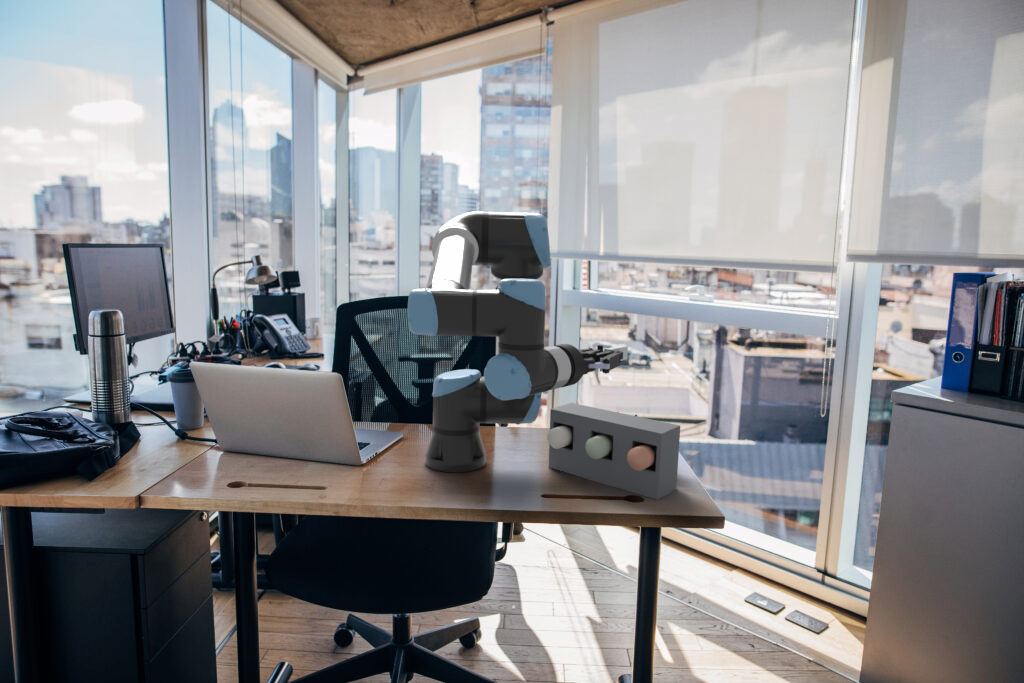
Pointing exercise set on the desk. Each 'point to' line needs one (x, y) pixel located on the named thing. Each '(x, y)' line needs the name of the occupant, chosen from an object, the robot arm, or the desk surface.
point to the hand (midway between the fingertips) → (624, 352)
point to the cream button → (560, 436)
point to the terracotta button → (641, 457)
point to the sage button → (599, 446)
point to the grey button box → (617, 449)
